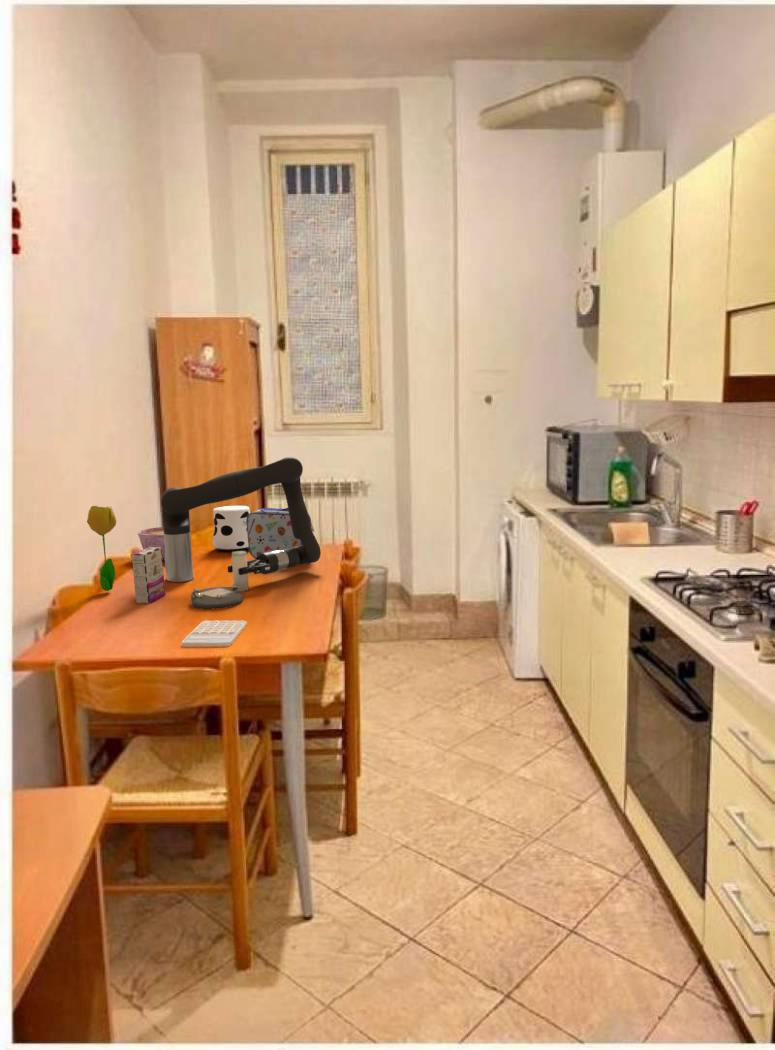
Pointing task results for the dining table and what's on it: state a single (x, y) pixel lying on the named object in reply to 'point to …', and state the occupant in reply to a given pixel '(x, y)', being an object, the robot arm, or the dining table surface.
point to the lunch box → (270, 531)
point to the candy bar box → (148, 575)
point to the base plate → (216, 597)
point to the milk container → (230, 528)
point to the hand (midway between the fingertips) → (233, 570)
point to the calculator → (214, 633)
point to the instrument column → (238, 562)
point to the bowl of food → (153, 538)
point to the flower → (103, 523)
